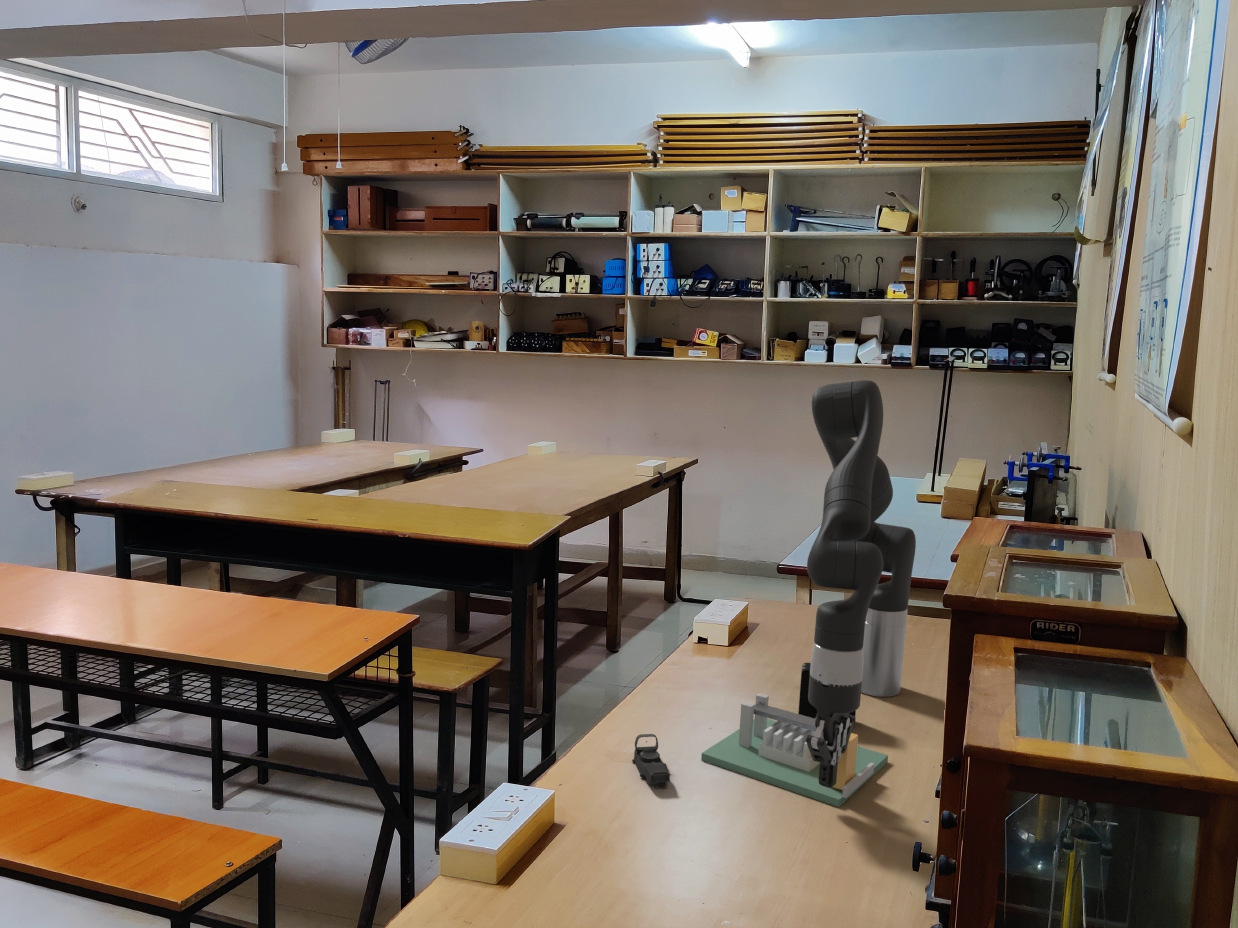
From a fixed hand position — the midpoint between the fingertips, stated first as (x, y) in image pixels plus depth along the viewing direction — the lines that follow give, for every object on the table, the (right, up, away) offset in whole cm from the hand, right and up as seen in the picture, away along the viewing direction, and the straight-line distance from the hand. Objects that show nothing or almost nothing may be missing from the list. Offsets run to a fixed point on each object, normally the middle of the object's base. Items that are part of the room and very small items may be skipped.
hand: (827, 784), depth 147 cm
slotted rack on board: (-2, -1, +16) cm, 16 cm away
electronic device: (+7, +1, +33) cm, 33 cm away
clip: (+2, -1, +6) cm, 6 cm away
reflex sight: (-26, -2, +8) cm, 27 cm away
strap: (-2, +5, +15) cm, 16 cm away
